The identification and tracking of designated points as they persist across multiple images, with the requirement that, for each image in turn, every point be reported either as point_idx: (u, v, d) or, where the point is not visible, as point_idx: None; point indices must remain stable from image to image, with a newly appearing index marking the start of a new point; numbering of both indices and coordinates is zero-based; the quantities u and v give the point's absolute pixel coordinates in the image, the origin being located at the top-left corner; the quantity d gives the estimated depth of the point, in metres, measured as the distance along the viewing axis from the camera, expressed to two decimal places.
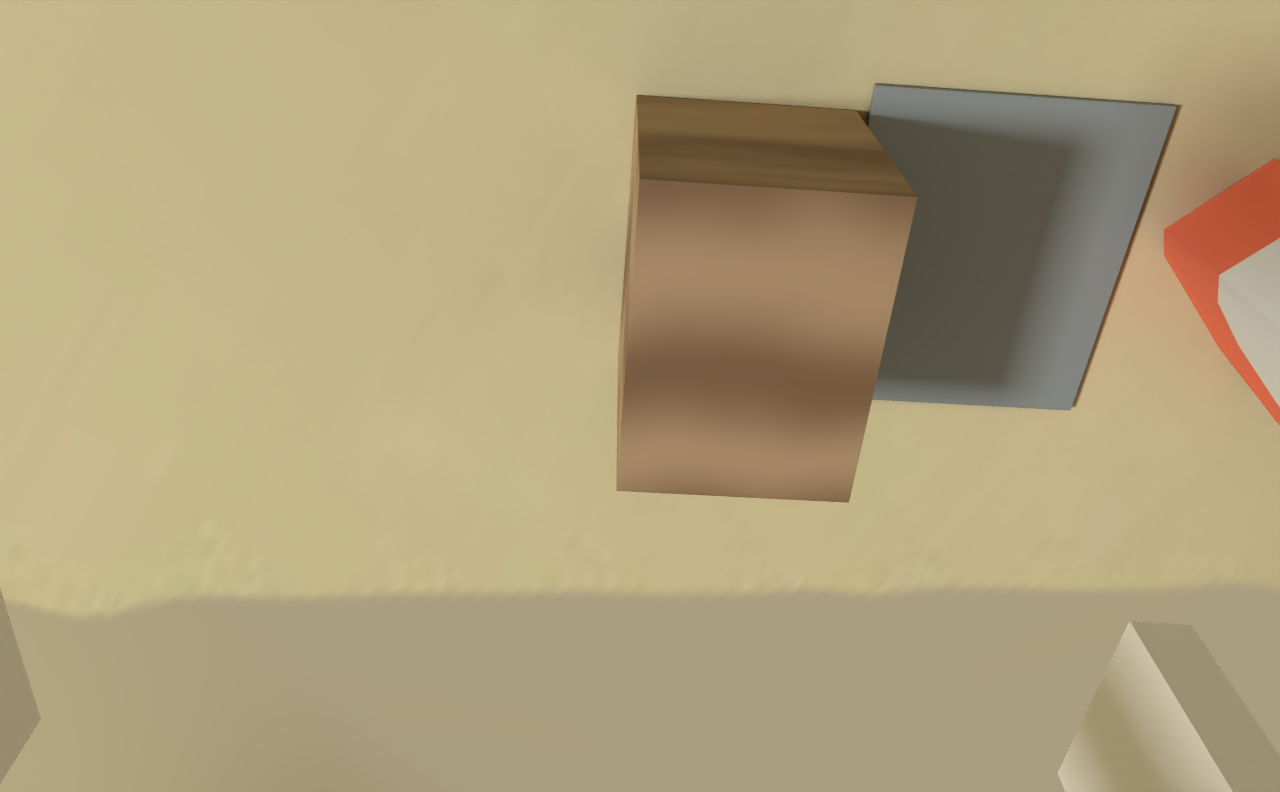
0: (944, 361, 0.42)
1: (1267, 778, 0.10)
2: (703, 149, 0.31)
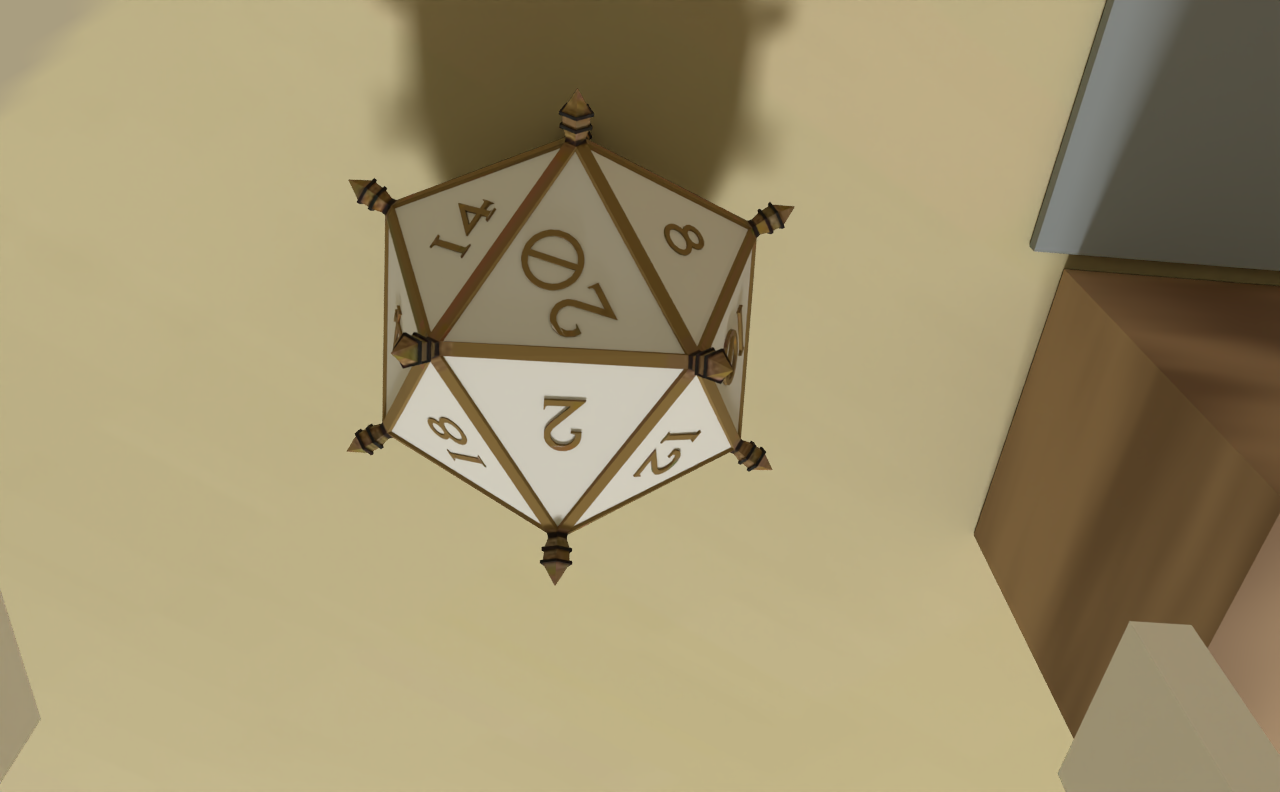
0: None
1: (1267, 778, 0.10)
2: (1084, 635, 0.22)
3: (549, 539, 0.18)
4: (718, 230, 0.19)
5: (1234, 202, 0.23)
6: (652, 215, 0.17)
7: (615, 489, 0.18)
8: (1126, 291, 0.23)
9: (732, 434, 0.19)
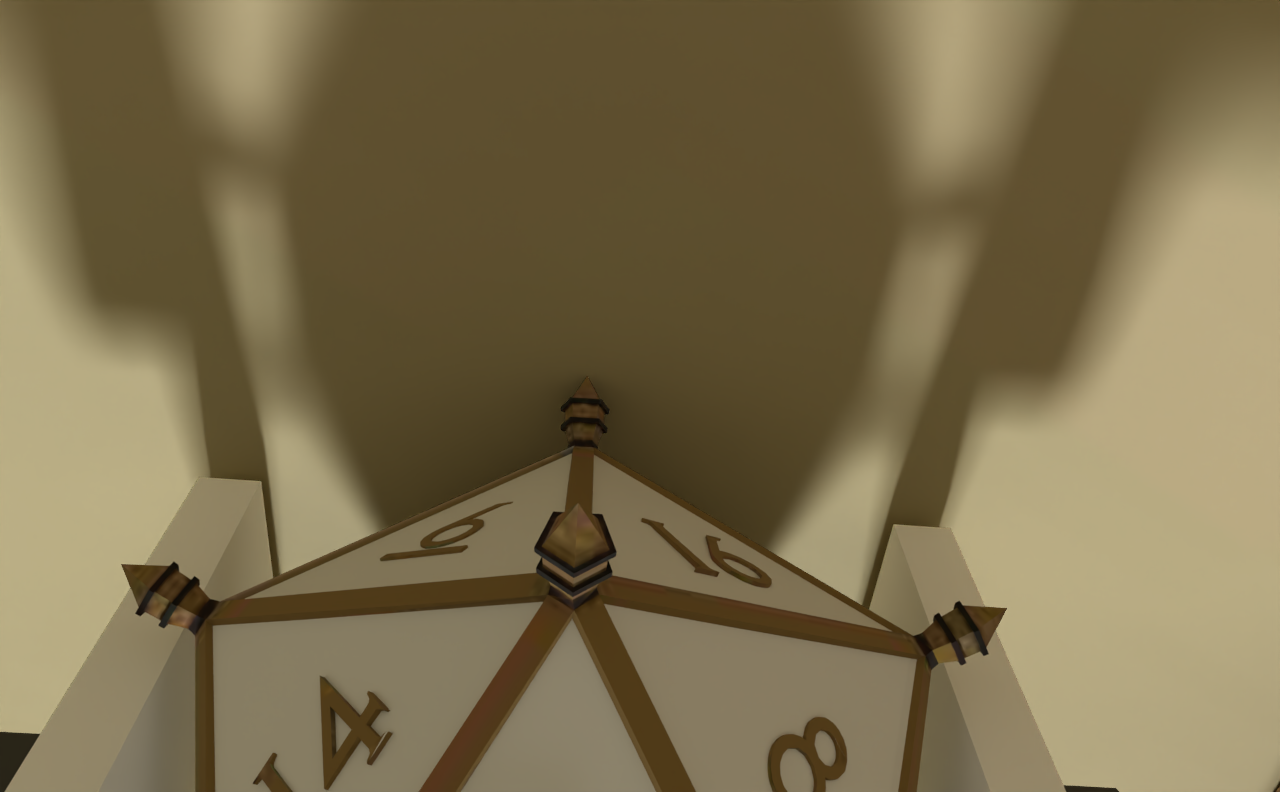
0: None
1: None
2: None
3: None
4: (868, 694, 0.09)
5: None
6: (742, 729, 0.08)
7: None
8: None
9: None
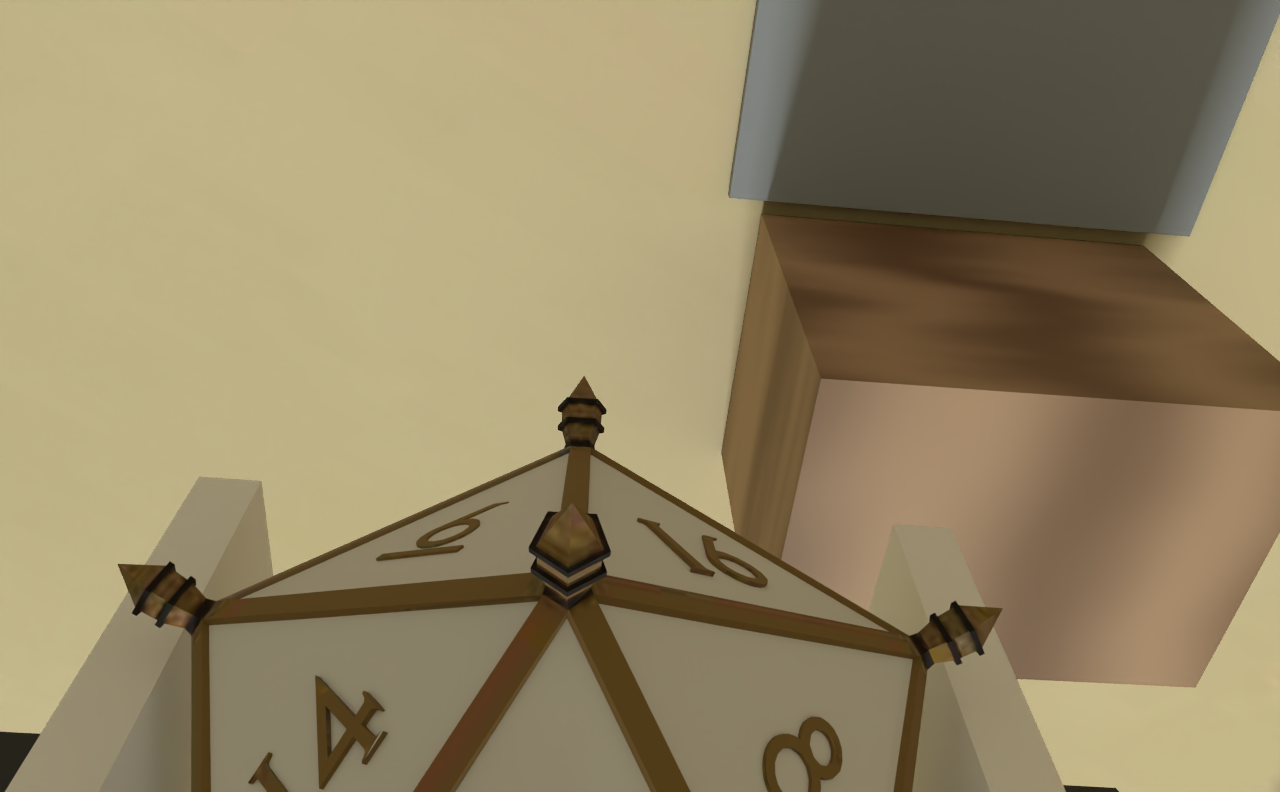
0: (1188, 43, 0.25)
1: None
2: (754, 519, 0.26)
3: None
4: (863, 694, 0.09)
5: (893, 155, 0.27)
6: (737, 731, 0.08)
7: None
8: (804, 232, 0.27)
9: None
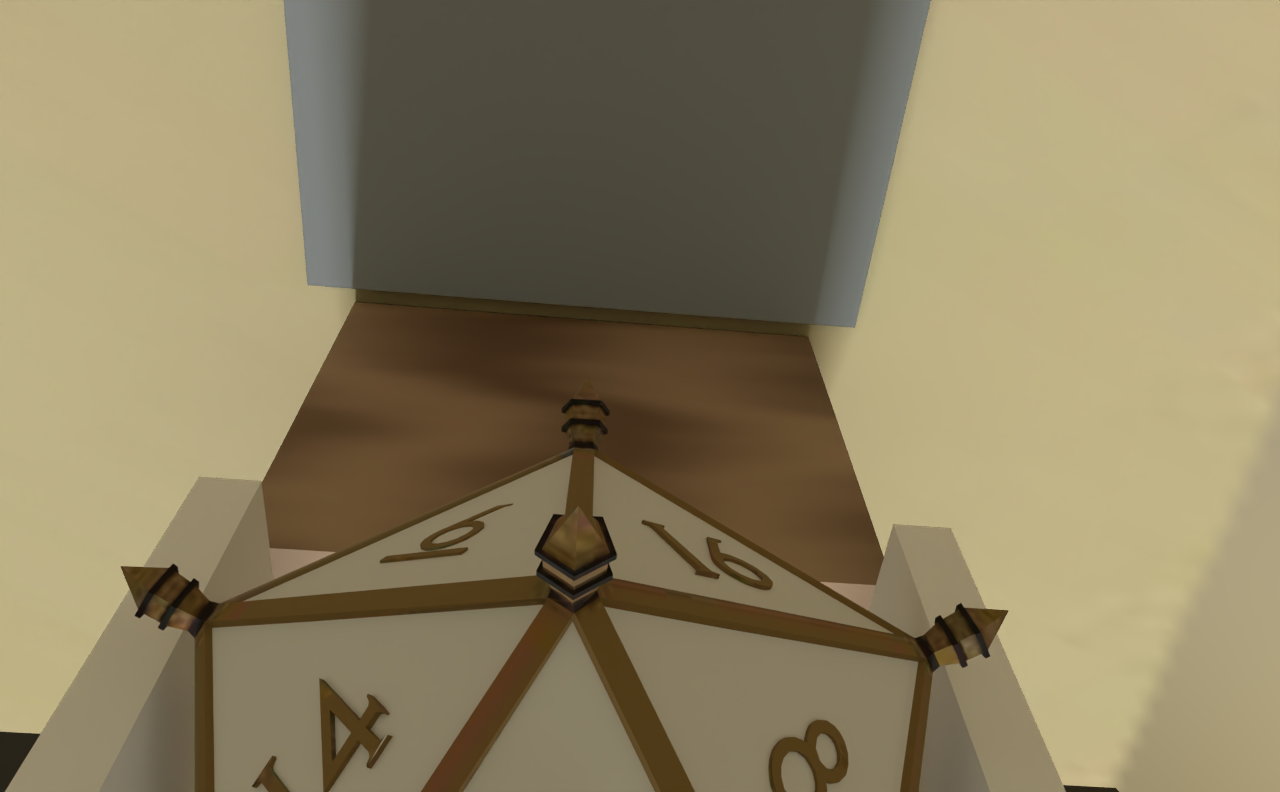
0: (811, 112, 0.21)
1: None
2: None
3: None
4: (868, 696, 0.09)
5: (489, 238, 0.23)
6: (742, 733, 0.08)
7: None
8: (389, 326, 0.23)
9: None
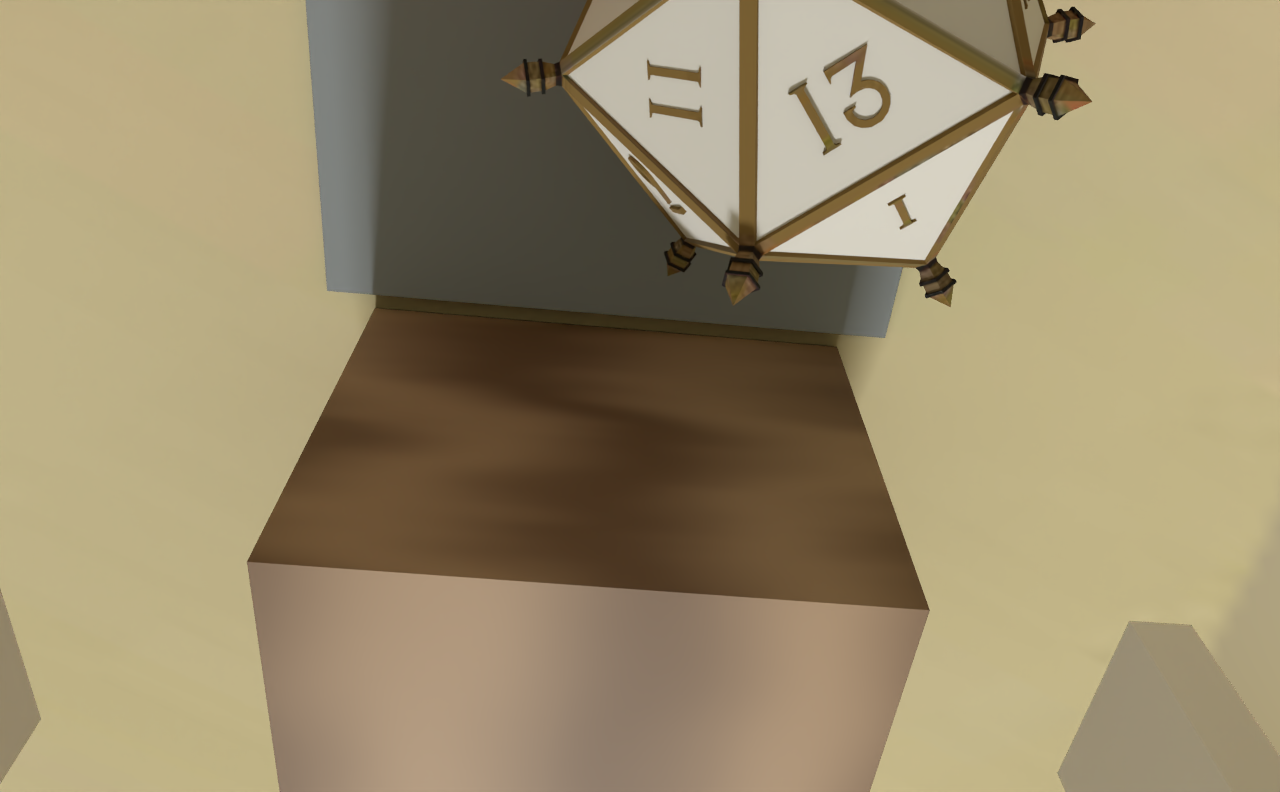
0: None
1: (1266, 778, 0.10)
2: None
3: None
4: None
5: (512, 244, 0.22)
6: None
7: None
8: (409, 333, 0.23)
9: None
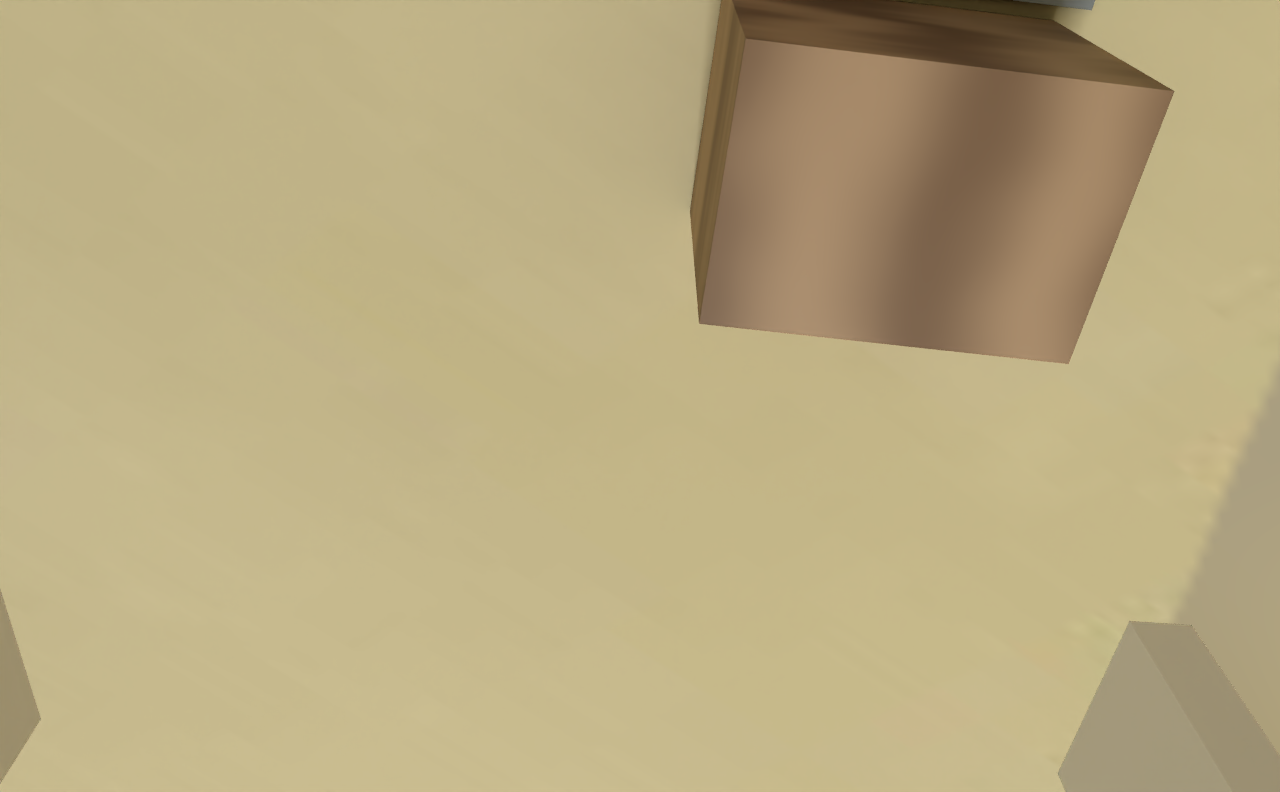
0: None
1: (1267, 778, 0.10)
2: (704, 218, 0.31)
3: None
4: None
5: None
6: None
7: None
8: None
9: None
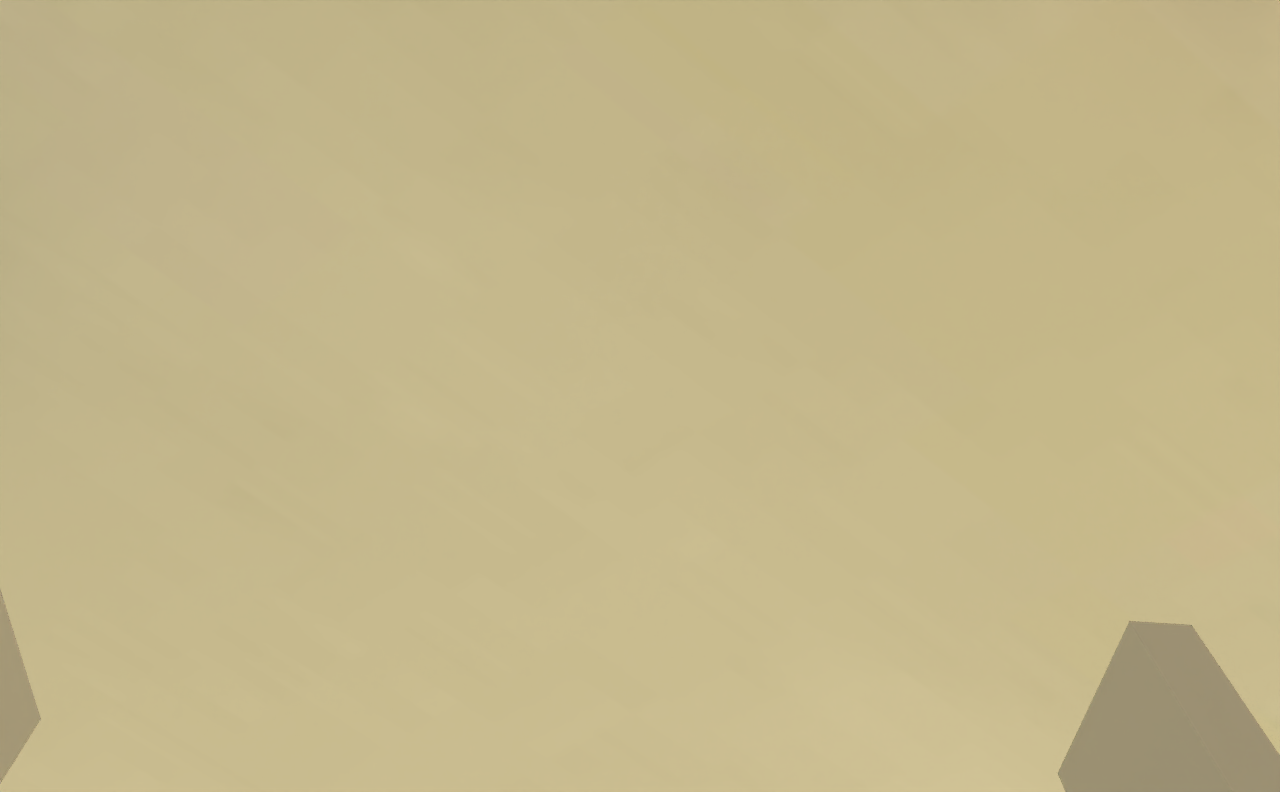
0: None
1: (1267, 778, 0.10)
2: None
3: None
4: None
5: None
6: None
7: None
8: None
9: None
